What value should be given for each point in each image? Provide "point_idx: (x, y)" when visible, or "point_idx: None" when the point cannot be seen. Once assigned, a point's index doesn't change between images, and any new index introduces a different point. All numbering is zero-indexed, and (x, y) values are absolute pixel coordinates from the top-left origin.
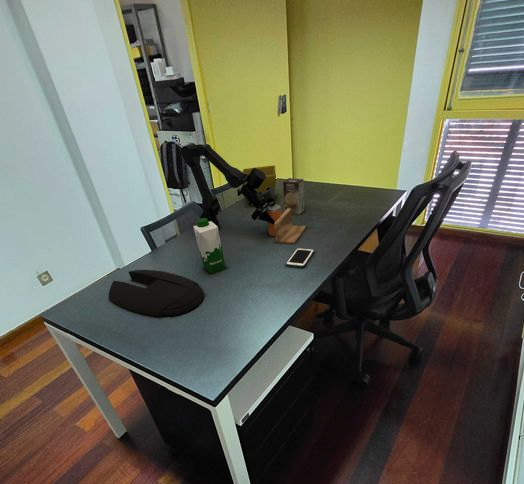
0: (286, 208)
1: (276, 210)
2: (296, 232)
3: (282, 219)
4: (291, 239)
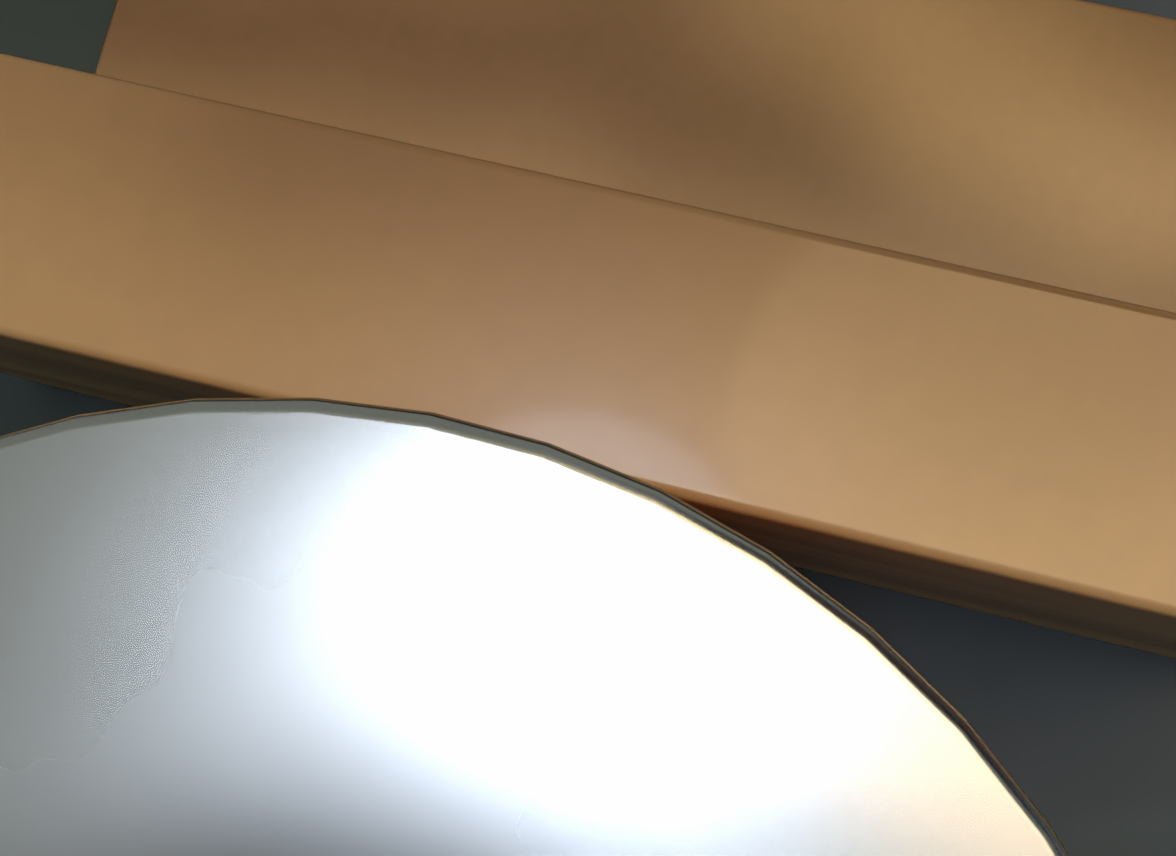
0: None
1: (1027, 833)
2: (634, 58)
3: (1146, 313)
4: (1154, 163)
